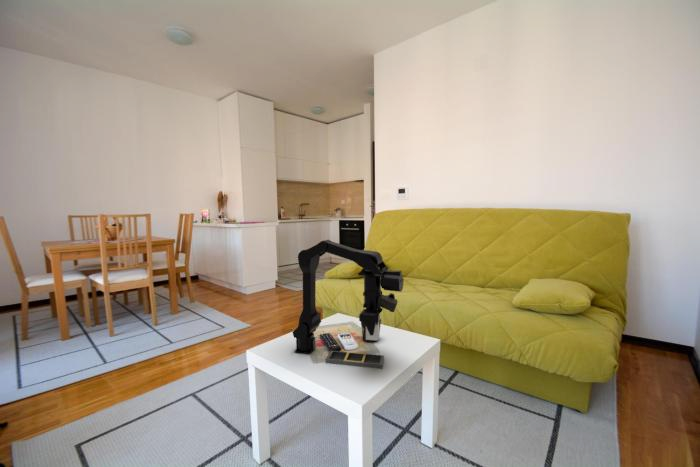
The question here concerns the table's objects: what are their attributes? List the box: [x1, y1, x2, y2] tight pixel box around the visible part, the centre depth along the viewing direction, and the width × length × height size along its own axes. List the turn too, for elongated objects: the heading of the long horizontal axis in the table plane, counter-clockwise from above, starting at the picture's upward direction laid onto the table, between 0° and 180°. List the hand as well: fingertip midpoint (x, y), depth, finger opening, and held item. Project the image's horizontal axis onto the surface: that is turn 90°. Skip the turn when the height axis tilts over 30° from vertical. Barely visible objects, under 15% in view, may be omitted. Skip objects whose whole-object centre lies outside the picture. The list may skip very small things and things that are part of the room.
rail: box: [325, 350, 385, 370], centre depth 105 cm, size 20×6×2 cm, turn 78°
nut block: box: [366, 322, 380, 342], centre depth 103 cm, size 4×4×6 cm
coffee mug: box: [360, 315, 382, 344], centre depth 124 cm, size 12×9×10 cm
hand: (372, 332), depth 103 cm, fingers closed on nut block, 4 cm apart
